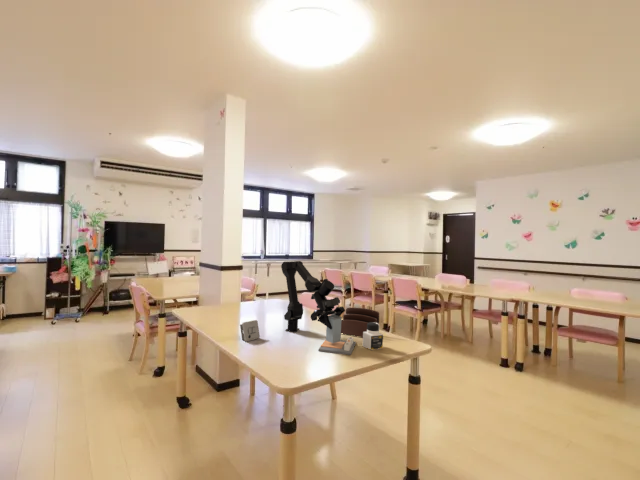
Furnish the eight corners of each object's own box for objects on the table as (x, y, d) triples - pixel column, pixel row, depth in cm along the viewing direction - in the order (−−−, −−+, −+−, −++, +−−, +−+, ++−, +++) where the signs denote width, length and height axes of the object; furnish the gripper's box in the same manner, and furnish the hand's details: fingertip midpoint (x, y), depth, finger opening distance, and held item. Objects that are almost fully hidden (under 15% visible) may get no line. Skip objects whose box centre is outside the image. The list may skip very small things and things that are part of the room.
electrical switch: (245, 342, 162) (245, 323, 163) (238, 341, 165) (238, 322, 166) (260, 338, 169) (259, 320, 170) (253, 337, 173) (253, 319, 173)
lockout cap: (325, 340, 161) (326, 315, 161) (333, 338, 165) (334, 314, 165) (332, 343, 157) (333, 318, 157) (340, 341, 161) (341, 316, 161)
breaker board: (327, 340, 171) (327, 332, 171) (355, 343, 167) (356, 335, 167) (318, 351, 153) (318, 342, 153) (350, 355, 150) (351, 346, 150)
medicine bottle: (370, 350, 158) (371, 325, 158) (362, 346, 164) (363, 321, 164) (382, 348, 161) (383, 324, 161) (373, 344, 167) (374, 320, 167)
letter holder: (345, 330, 193) (346, 305, 193) (378, 335, 185) (379, 310, 185) (339, 334, 184) (340, 308, 184) (374, 339, 176) (375, 313, 176)
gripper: (315, 293, 158) (329, 321, 150) (343, 290, 170) (358, 316, 162) (304, 306, 164) (317, 334, 156) (332, 303, 176) (346, 328, 168)
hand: (335, 328), depth 160 cm, fingers closed on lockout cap, 5 cm apart
